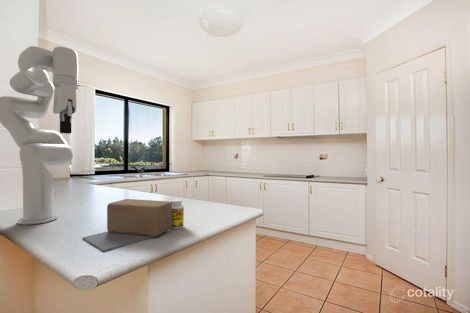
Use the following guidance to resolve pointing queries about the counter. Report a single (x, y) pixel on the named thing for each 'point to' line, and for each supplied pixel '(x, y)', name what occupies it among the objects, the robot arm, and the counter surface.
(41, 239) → the counter surface
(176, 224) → the supplement bottle
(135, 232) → the block
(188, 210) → the counter surface
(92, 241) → the mat
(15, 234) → the counter surface
